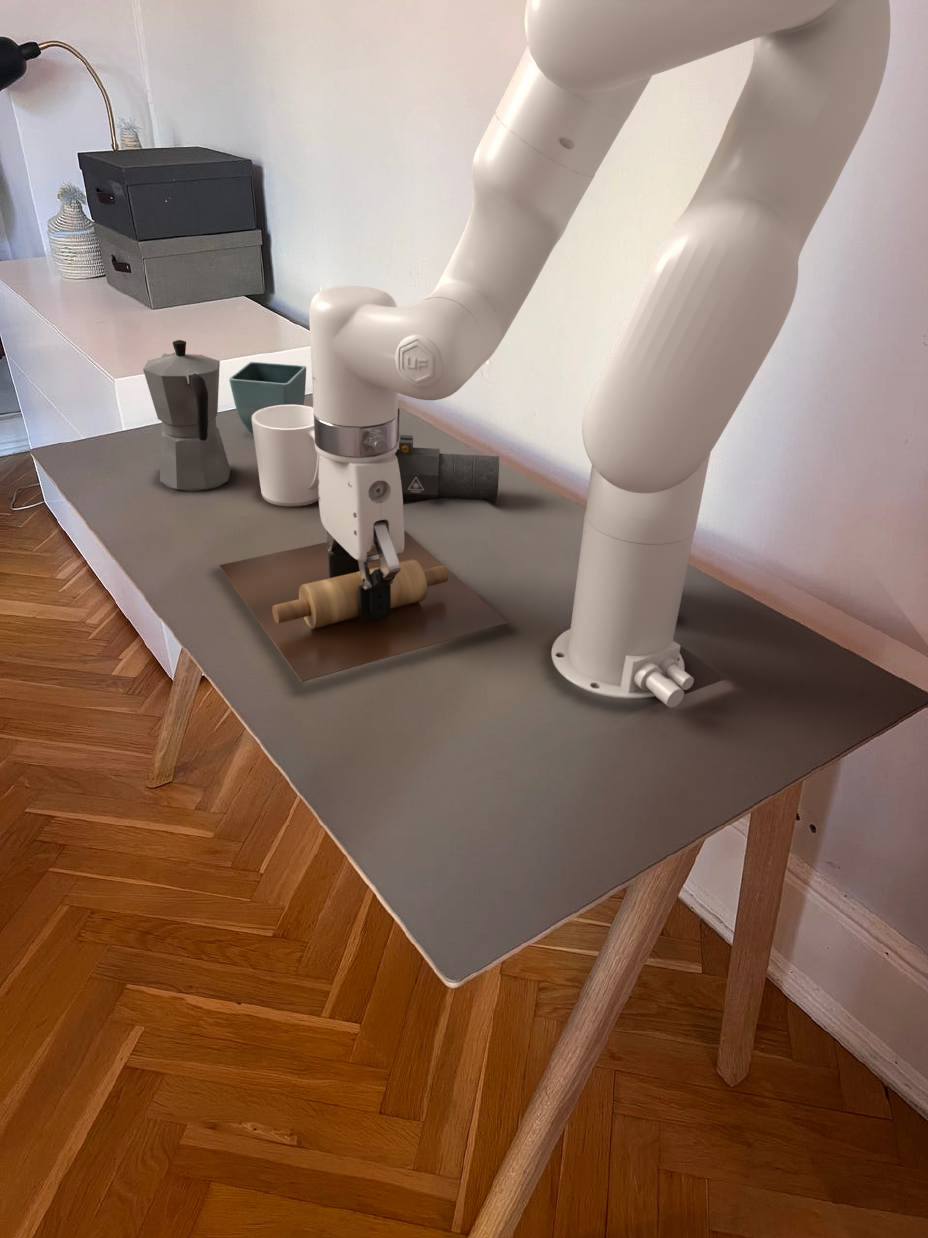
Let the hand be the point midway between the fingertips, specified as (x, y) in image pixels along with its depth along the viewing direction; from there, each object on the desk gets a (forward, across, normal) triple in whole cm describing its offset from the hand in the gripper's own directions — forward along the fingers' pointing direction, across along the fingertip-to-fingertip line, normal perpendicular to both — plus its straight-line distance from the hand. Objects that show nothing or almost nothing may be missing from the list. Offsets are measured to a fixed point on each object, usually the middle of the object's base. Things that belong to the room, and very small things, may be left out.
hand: (359, 600), depth 92 cm
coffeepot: (+2, +40, +5) cm, 40 cm away
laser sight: (+2, +24, -18) cm, 30 cm away
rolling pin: (0, -3, 0) cm, 3 cm away
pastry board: (+2, +3, -1) cm, 4 cm away
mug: (+2, +30, -5) cm, 30 cm away
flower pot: (+2, +53, -10) cm, 54 cm away
